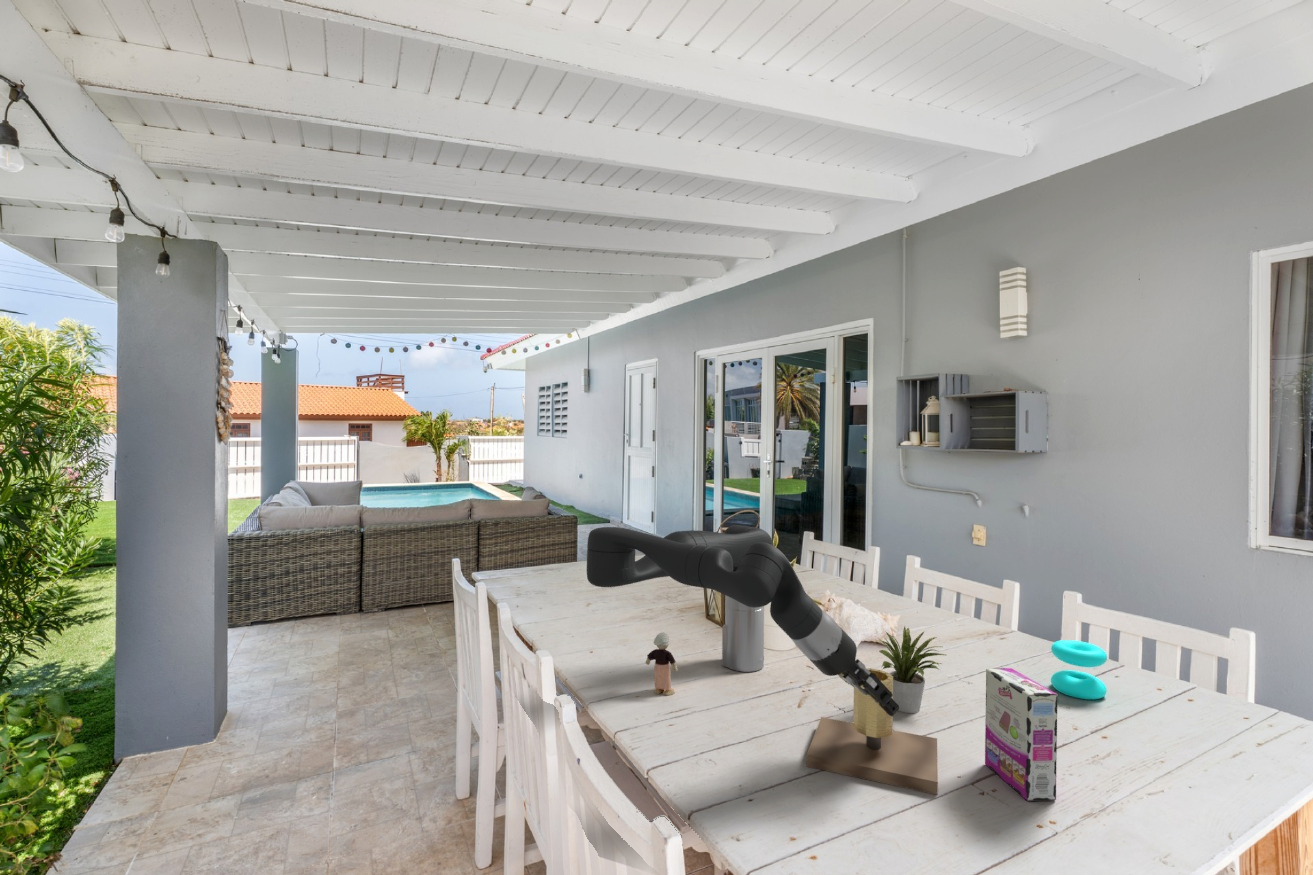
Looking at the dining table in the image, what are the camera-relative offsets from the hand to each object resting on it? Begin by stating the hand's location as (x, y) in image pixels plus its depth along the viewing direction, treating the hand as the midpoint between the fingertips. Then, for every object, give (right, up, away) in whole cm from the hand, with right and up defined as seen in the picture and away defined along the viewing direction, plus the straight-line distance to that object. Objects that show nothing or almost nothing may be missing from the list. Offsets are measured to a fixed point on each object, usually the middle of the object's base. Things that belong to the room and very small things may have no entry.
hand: (881, 702), depth 108 cm
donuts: (+52, -10, +27) cm, 60 cm away
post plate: (-1, -9, 0) cm, 10 cm away
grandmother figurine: (-38, -9, +27) cm, 47 cm away
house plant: (+11, -9, +18) cm, 23 cm away
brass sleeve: (-2, -4, 0) cm, 5 cm away
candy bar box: (+19, -10, -7) cm, 23 cm away
